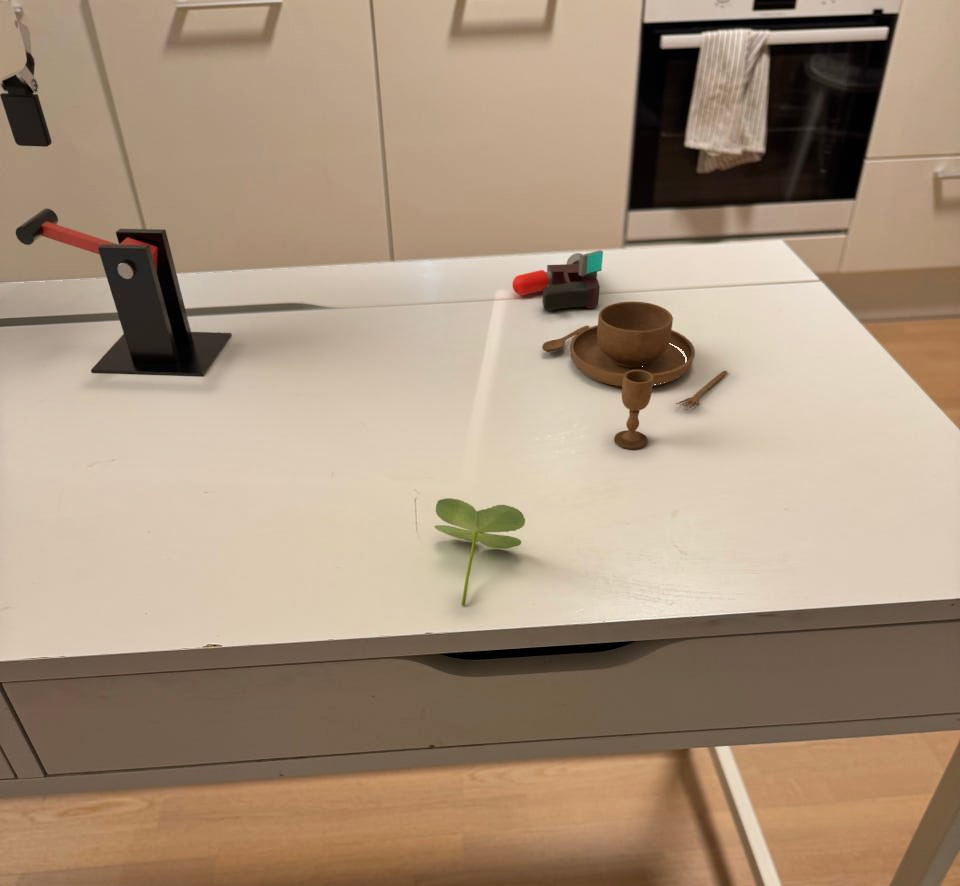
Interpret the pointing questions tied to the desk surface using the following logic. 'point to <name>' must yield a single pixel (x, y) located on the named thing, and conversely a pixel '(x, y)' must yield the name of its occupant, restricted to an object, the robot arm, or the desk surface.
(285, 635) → the desk surface
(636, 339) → the place setting
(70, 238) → the lever
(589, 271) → the toy gun
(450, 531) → the green clover sprout
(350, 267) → the desk surface
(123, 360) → the bracket
